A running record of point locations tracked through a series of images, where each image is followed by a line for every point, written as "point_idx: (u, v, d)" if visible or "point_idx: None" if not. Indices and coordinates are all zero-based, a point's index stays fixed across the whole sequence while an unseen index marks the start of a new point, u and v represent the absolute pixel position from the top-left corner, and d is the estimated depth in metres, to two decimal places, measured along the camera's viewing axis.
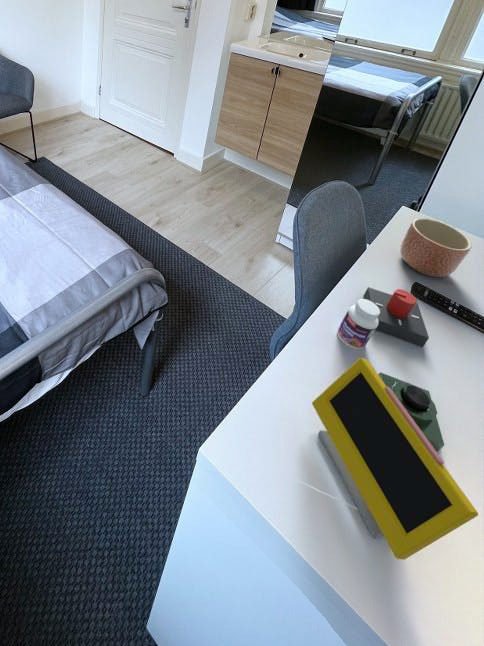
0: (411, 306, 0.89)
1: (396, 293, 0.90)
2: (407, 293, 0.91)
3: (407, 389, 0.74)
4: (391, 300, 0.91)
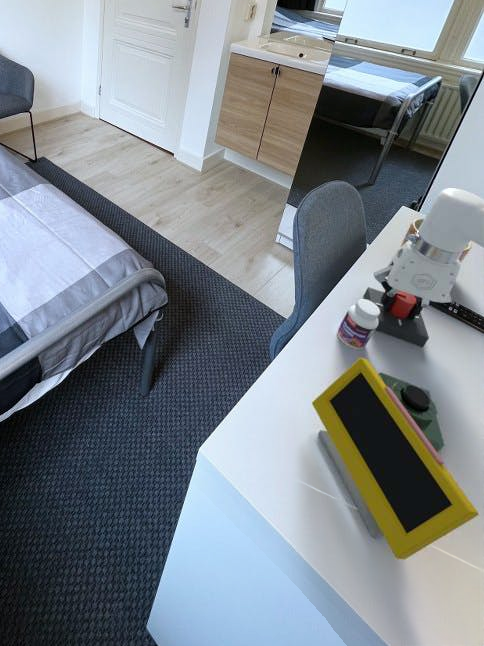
0: (411, 306, 0.89)
1: (396, 293, 0.90)
2: (407, 293, 0.91)
3: (407, 389, 0.74)
4: None
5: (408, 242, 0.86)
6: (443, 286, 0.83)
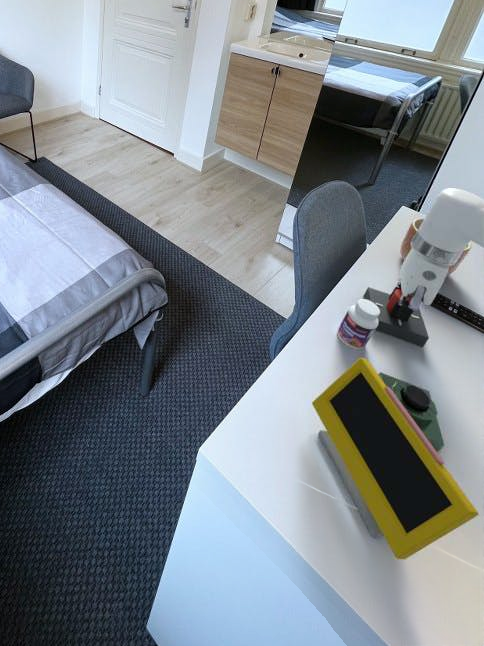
0: None
1: None
2: (399, 292, 0.91)
3: (407, 389, 0.74)
4: None
5: (429, 262, 0.82)
6: None
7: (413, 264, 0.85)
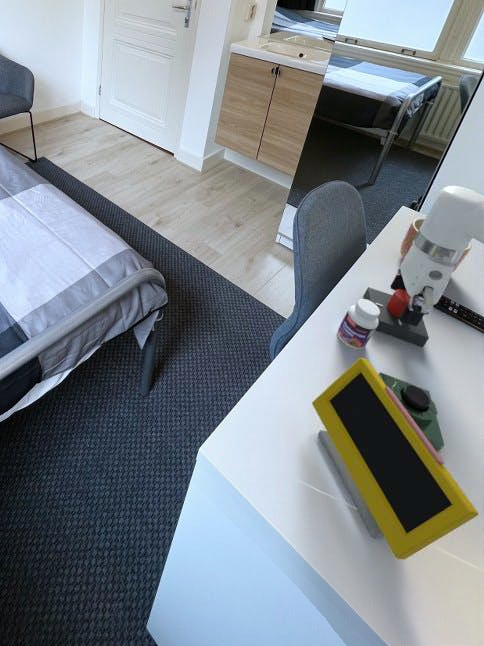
0: None
1: (408, 302, 0.89)
2: (398, 292, 0.91)
3: (407, 389, 0.74)
4: None
5: (435, 261, 0.81)
6: None
7: (417, 264, 0.84)
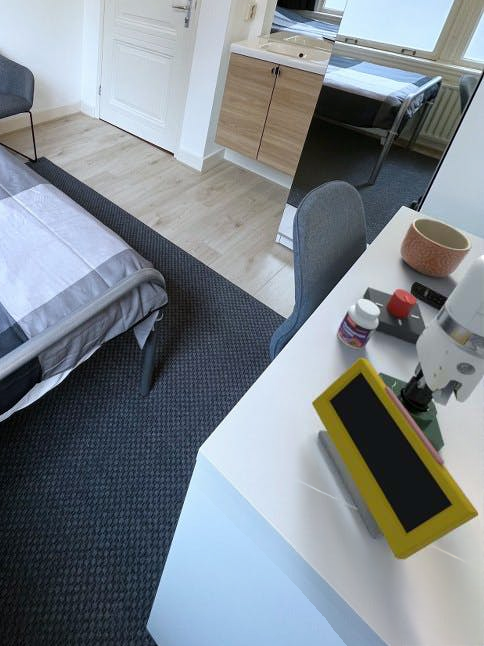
0: None
1: (408, 302, 0.89)
2: (398, 292, 0.91)
3: (405, 392, 0.74)
4: (404, 310, 0.89)
5: (465, 351, 0.62)
6: None
7: (441, 350, 0.65)
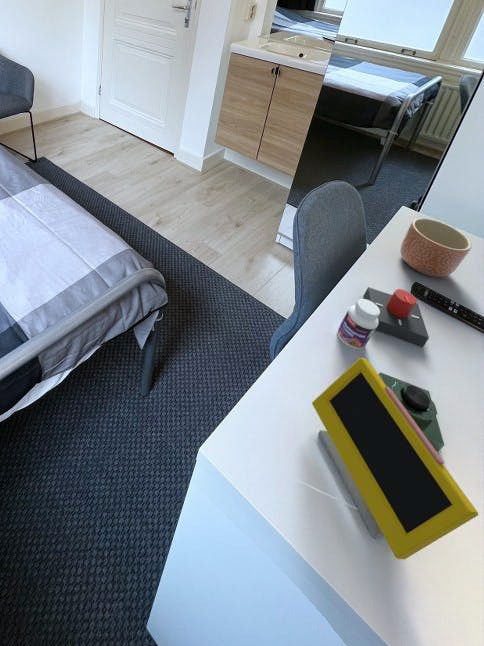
0: None
1: (408, 302, 0.89)
2: (398, 292, 0.91)
3: (407, 389, 0.74)
4: (404, 310, 0.89)
5: None
6: None
7: None
